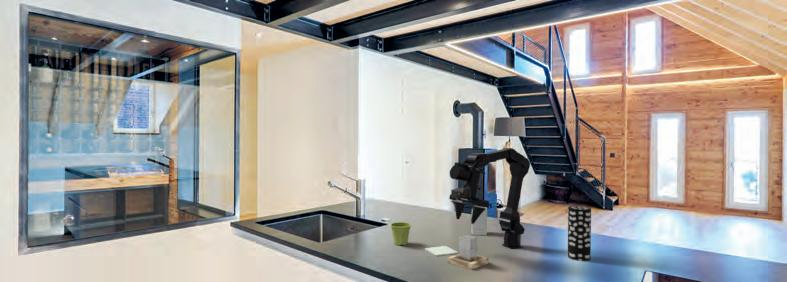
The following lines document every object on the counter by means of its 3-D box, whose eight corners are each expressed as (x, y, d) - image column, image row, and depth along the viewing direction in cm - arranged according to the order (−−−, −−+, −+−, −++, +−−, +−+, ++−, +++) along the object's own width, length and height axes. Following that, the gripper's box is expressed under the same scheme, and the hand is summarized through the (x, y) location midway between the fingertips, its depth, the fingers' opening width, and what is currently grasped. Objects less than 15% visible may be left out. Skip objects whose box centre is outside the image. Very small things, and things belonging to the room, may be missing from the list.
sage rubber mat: (445, 247, 173) (445, 245, 173) (457, 253, 164) (457, 252, 164) (424, 249, 169) (425, 248, 169) (436, 256, 160) (436, 254, 160)
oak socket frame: (464, 256, 159) (464, 251, 159) (488, 263, 151) (488, 257, 151) (447, 262, 152) (447, 257, 152) (471, 269, 144) (471, 264, 144)
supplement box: (486, 235, 193) (487, 209, 193) (471, 234, 195) (471, 209, 195) (486, 232, 201) (486, 207, 200) (471, 231, 202) (471, 206, 202)
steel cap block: (466, 260, 155) (466, 234, 155) (476, 263, 151) (477, 237, 151) (459, 262, 152) (459, 236, 152) (469, 265, 148) (470, 239, 148)
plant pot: (403, 248, 171) (403, 227, 171) (385, 244, 177) (386, 224, 177) (415, 243, 179) (415, 224, 179) (398, 239, 184) (398, 221, 184)
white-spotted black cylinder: (588, 255, 162) (589, 206, 161) (591, 262, 154) (592, 210, 153) (566, 253, 164) (567, 205, 164) (568, 259, 156) (569, 209, 156)
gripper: (442, 177, 167) (435, 214, 166) (472, 182, 151) (464, 223, 149) (463, 182, 172) (456, 218, 171) (493, 187, 156) (486, 227, 155)
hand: (464, 221), depth 161 cm, fingers open, 9 cm apart
